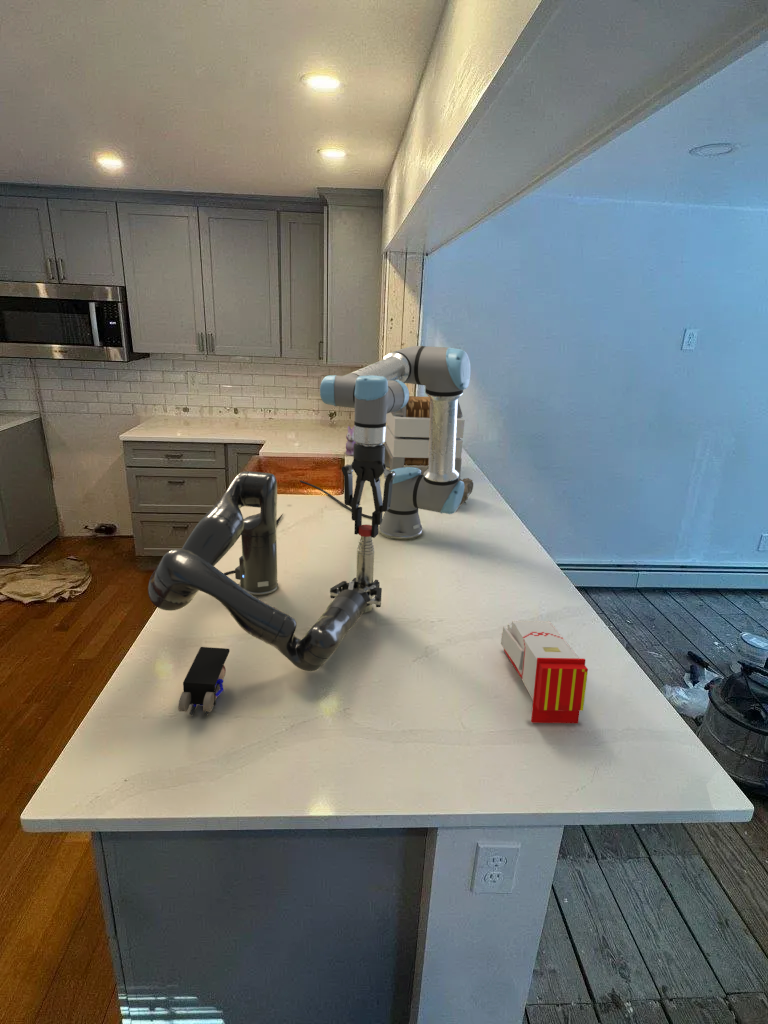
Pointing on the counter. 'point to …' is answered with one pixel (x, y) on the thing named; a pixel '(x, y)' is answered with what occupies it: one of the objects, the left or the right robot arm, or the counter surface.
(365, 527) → the cap
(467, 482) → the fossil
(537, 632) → the toy
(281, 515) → the feather
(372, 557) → the bottle
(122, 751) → the counter surface
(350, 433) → the figurine
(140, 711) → the counter surface
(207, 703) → the black wheeled cart
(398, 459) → the white slatted crate
